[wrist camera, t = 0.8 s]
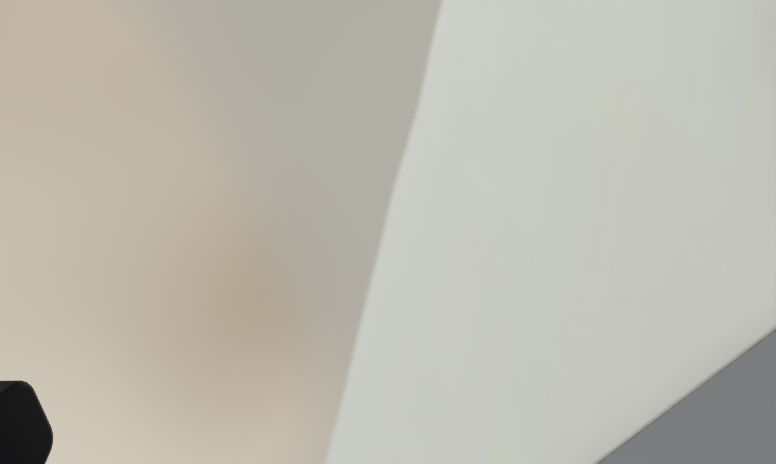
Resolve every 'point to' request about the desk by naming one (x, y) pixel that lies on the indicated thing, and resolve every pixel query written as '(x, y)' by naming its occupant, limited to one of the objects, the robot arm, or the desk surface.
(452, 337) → the desk surface
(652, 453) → the rubber mat
